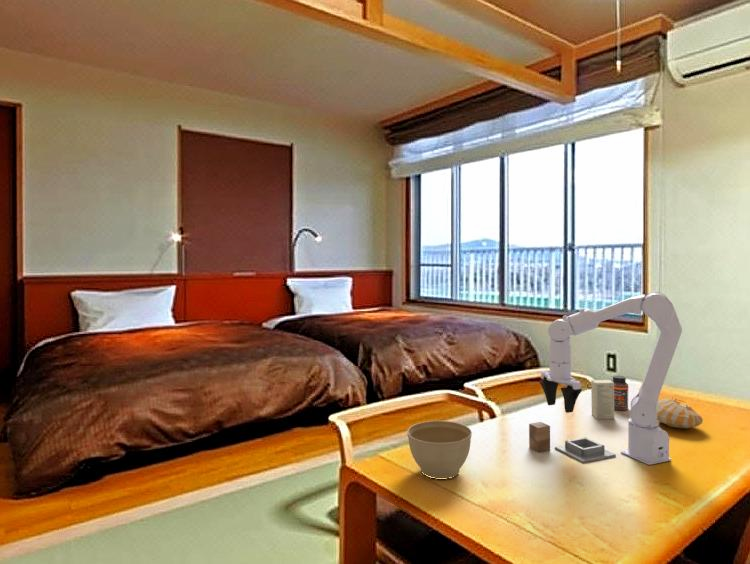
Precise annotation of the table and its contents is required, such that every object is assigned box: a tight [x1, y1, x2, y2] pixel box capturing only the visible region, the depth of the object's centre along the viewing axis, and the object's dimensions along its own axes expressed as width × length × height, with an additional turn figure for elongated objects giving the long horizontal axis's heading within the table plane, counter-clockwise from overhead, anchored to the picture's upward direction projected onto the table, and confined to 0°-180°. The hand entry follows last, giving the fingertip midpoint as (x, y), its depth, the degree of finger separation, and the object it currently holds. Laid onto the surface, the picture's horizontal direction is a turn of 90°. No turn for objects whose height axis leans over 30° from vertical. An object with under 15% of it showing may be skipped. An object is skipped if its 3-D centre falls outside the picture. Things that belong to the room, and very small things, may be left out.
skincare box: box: [590, 379, 615, 420], centre depth 174 cm, size 6×4×12 cm
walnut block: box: [528, 421, 551, 454], centre depth 147 cm, size 4×4×7 cm
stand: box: [554, 437, 617, 464], centre depth 144 cm, size 11×11×3 cm
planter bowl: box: [406, 420, 472, 478], centre depth 133 cm, size 16×16×11 cm
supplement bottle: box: [611, 375, 629, 412], centre depth 182 cm, size 6×6×11 cm
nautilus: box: [656, 396, 704, 430], centre depth 165 cm, size 8×22×15 cm
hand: (560, 408), depth 150 cm, fingers open, 7 cm apart
